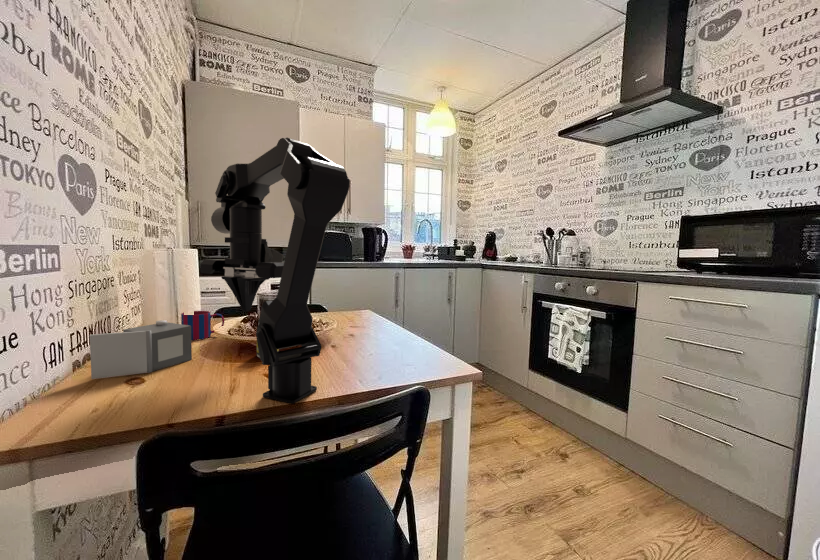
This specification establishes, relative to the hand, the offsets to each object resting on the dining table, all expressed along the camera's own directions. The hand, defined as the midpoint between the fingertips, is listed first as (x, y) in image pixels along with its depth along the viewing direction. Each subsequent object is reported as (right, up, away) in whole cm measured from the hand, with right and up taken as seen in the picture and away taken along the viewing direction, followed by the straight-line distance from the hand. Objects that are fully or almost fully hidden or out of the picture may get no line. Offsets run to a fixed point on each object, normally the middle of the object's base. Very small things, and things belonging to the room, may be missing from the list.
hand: (246, 311), depth 69 cm
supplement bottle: (0, -12, +10) cm, 15 cm away
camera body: (-20, -11, +3) cm, 23 cm away
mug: (-24, -10, +24) cm, 35 cm away
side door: (-21, -11, -5) cm, 24 cm away
